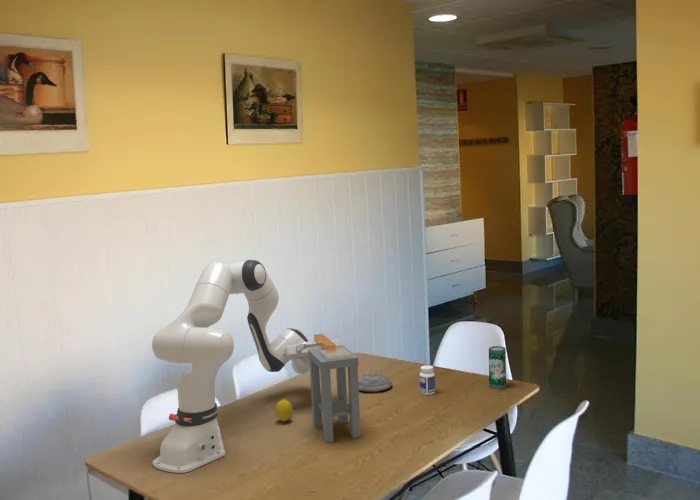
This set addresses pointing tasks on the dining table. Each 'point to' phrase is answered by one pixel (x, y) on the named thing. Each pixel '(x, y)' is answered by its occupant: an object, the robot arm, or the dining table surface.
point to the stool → (337, 405)
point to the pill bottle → (427, 380)
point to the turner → (330, 349)
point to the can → (497, 367)
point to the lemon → (284, 410)
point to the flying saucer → (373, 383)
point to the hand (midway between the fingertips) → (317, 343)
